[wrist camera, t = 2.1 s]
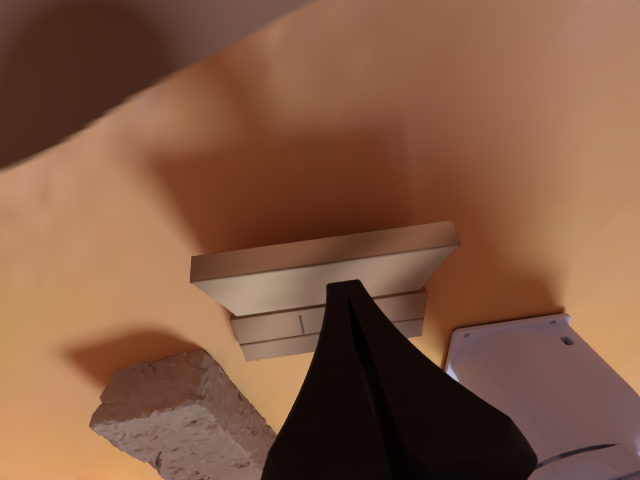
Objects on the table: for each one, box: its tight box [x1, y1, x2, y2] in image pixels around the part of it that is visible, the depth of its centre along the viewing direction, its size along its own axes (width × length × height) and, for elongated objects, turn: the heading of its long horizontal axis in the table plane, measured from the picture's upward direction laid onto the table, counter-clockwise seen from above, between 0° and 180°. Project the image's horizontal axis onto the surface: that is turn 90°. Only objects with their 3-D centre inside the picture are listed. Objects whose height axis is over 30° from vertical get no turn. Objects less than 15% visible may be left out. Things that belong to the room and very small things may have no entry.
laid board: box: [230, 286, 427, 362], centre depth 21 cm, size 13×4×1 cm, turn 96°
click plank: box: [190, 220, 461, 316], centre depth 16 cm, size 12×7×1 cm, turn 96°
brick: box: [89, 350, 277, 480], centre depth 25 cm, size 17×8×5 cm, turn 16°
